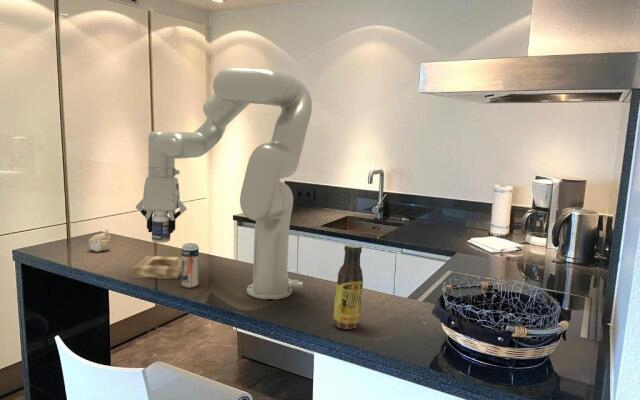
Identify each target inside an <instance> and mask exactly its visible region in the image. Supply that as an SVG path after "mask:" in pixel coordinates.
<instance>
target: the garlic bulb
mask: <svg viewBox="0 0 640 400" xmlns="http://www.w3.org/2000/svg"><path fill="white" fill-rule="evenodd" d="M109 231H110V230H109V228H108V229H106V230H105V231H104V232H102V233H98V234H94V235H92V236H91V237H90V238H89V240H88V243H87V244H88V247H89V249H90V250H92V251H93V252H97V253H98V252H103V251H104V252H105V251H107V250H108V249H109V248H110V246H111V235H110V234H109V233H108V232H109Z"/></svg>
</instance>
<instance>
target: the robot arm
mask: <svg viewBox="0 0 640 400" xmlns="http://www.w3.org/2000/svg"><path fill="white" fill-rule="evenodd" d="M212 90H213V92H214V93H213V94H212V95H211V96H210V97H209V98H208V99H207V100H206V101H205V102H204V104H203V105H202V108H203V109H202V110H203V112H204V115H205V117H206V120H205V121H204V122H203V123H202V124H201V125H200V126H198V128H197V129H196V130H195V131H193V132H192V131H191V132H187V131H186V132H183V131H182V132H180V131H179V132H178V131H177V132H170V131H162V130H161V131H160V130H157V131H156V130H155V131H150V132H149V134H148V139H147V140H148V141H147V143H148V148H147V149H148V150H147V151H148V153H147V154H148V161H147V162H148V163H147V164H148V167H147V170H148V172H147V174H148V176H146V177H145V181H144V187H143V194H142V199H141V200H140V201H139V202H138V203H137V205H135V209H137V210H138V211H139V212H140V213H141V215H142V216H143V217H144V218H145V220H146V229H147V230H148V231H147V232H148V233H152V218H153V217H154V216H153V215H154V214H155V213H154V210H157V211H168V216H169V217H170V220H169V233H170V234H173V233H174V231H175V230H176V220H177V219H178V217H180V216H181V215H182V214H183V213H184V212H186V210H187V209H188V208H187V207H186V205H185V204H184V203H183V202H182V201H181V198H180V197H181V196H180V193H181V192H180V185H179V184H180V183H179V179H178V177H176V176H177V175H180V172H181V171H180V169H177V168H176V167H175V166H176V165H175V163H176V162H175V159H180V160H181V159H190V158H199V157H201V156H204V155H205V154H207V153H208V152H209V151H211V149H212V148H213V147H215V146H216V145H217V144H218V143H219V142H220V140H221V139H222V137H223V135H224V134H225V131H226V128H227V126H228V125H229V124H230V123H231V122H232V121H233V120H234V119H235V118H236V117H237V116H238V115H239V114H241V112H243V111H244V110H245V109H246V108H247V107H249V105H250V104H258V105H265V106H272V107H273V106H274V107H280V109H281V111H280V113H279V115H278V117H277V119H276V121H275V123H274V127H273V133H272V136H271V139H270V142H265V143H262V144H260V145H258V146H256V148H255V149H254V150H253V151H252V152H251V154H250V156H249V158H248V162H247V165H246V169H245V173H244V179H243V183H242V186H241V191H240V197H239V205H240V210H241V211H242V213H243V215H244V216H245V217H247V218H248V219H249V220H252V221H255V224H254V234H253V235H254V237H253V238H254V239H253V242H254V243H253V269H252V283H251V284H249V285H248V286H247V287H246V293H247V294H248V295H249V296H250V297H253V298H256V299H258V300H259V299H260V300H267V299H273V300H280V299H285V298H288V297H289V296H291V294H292V293H293V289H301V290H303V284H304V282H303V281H299V279H291V278H289V274H288V263H289V262H288V261H289V239H290V226H291V225H290V224H291V215H292V212H293V205H294V195H293V192H292V189H291V188H290V187H289V185H288V184H286V183H285V182H284V181H281V179H284V178H289V177H291V176H293V175H294V174H295V173H296V171H297V169H298V167H299V162H300V159H301V155H302V153H303V147H304V145H305V144H304V143H305V140H306V136H307V135H306V134H307V131H308V127H309V124H310V120H311V116H312V110H313V102H312V97H311V94H310V92H309V89H308V88H307V87H306V85H304V84H303V83H302V82H301V81H300V80H299V79H297V78H296V77H294V76H292V75H290V74H287V73H286V74H285V73H282V72H278V71H275V70H272V69H265V68H263V69H262V68H240V67H239V68H238V67H227V68H226V67H225V68H224V69H221V70H220V71H218V72H217V74H216V75H215V76H214V77H213V81H212ZM177 209H179V210H178V211H177V212H176V210H177Z"/></svg>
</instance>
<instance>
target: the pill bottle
mask: <svg viewBox="0 0 640 400" xmlns="http://www.w3.org/2000/svg"><path fill="white" fill-rule="evenodd" d="M153 214H154V216H153V218H152V232H151V241H152V242H153V243H157V244H160V243H168V242H171V233H169V220H170V216H169V213H168V211H157V210H154V213H153Z"/></svg>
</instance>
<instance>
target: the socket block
mask: <svg viewBox="0 0 640 400" xmlns="http://www.w3.org/2000/svg"><path fill="white" fill-rule="evenodd" d="M131 270H132V278H134V279H156V278H157V279H159V280H160V279H161V280H163V279H165V280H178V279H179V278H180V277H181V272H182V256H181V257H180V256H160V255H159V256H157V255H156V256H155V255H146V256H145V257H144V258H143V259H141V260H140V261H139V262H138V263H137V264H135V265H134V266H133V267H132V269H131ZM157 279H156V280H157Z"/></svg>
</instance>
